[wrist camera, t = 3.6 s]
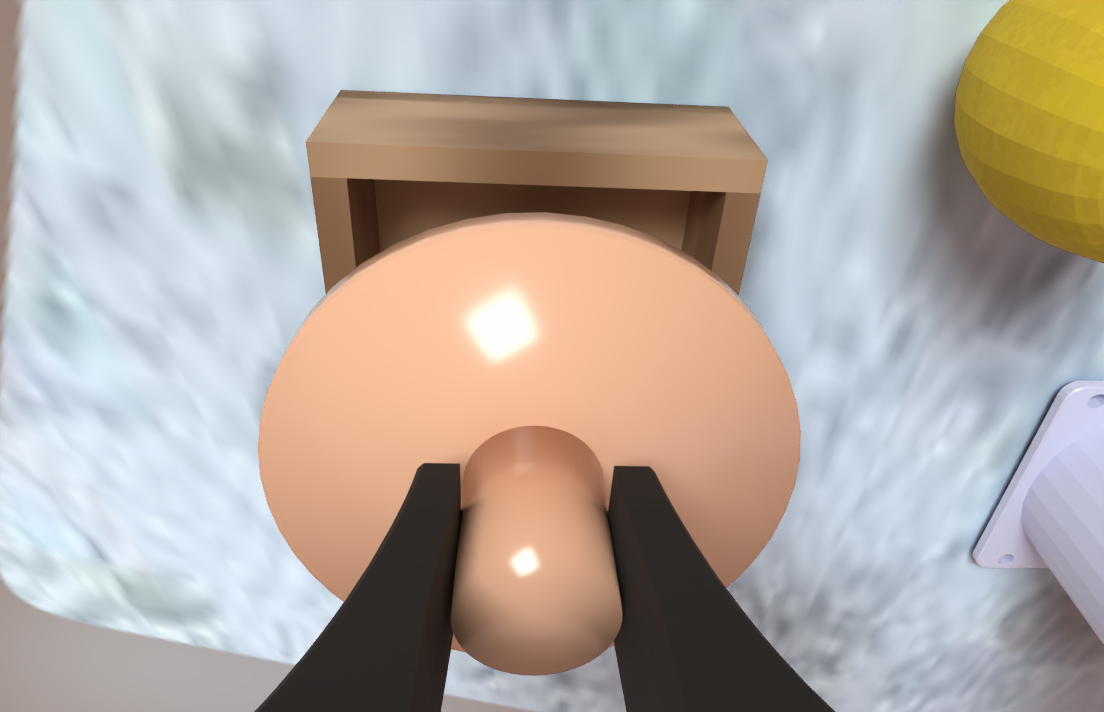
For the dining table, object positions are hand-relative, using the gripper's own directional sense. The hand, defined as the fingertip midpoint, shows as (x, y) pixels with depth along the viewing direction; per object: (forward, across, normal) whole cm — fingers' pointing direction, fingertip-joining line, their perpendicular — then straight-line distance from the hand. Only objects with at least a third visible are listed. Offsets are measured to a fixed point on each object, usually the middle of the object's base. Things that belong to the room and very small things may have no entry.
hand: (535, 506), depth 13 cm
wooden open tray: (+9, 0, 0) cm, 9 cm away
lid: (+2, 0, 0) cm, 2 cm away
